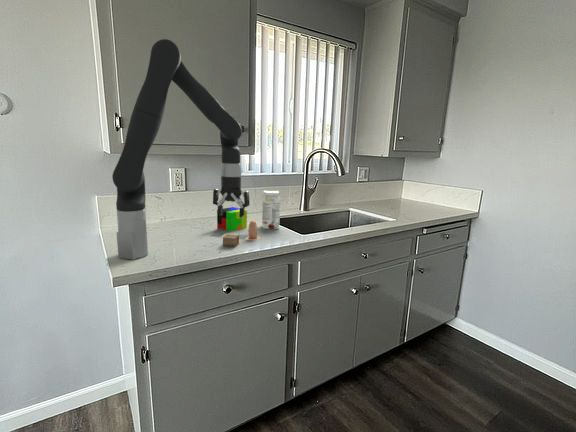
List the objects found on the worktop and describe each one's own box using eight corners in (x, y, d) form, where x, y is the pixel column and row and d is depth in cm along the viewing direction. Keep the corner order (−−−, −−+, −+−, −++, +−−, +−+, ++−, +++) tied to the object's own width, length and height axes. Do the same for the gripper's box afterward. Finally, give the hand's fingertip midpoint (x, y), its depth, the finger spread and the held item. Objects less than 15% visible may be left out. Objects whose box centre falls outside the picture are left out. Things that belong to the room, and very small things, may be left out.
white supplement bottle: (279, 231, 159) (280, 192, 155) (261, 231, 158) (262, 192, 154) (278, 227, 166) (279, 190, 162) (261, 227, 166) (262, 190, 161)
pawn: (255, 239, 140) (255, 222, 138) (247, 238, 141) (247, 221, 139) (258, 237, 143) (258, 220, 141) (250, 236, 144) (250, 219, 142)
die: (235, 250, 129) (234, 238, 128) (223, 249, 130) (222, 237, 129) (239, 246, 134) (239, 234, 133) (227, 245, 135) (227, 233, 134)
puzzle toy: (233, 226, 166) (233, 207, 163) (246, 230, 159) (246, 210, 157) (217, 229, 158) (217, 209, 156) (231, 234, 152) (231, 213, 150)
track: (256, 243, 138) (256, 240, 138) (208, 238, 143) (208, 235, 142) (261, 239, 145) (261, 236, 145) (215, 234, 149) (215, 231, 149)
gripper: (209, 174, 123) (210, 216, 127) (245, 177, 120) (245, 219, 124) (217, 173, 130) (218, 212, 134) (251, 175, 128) (251, 215, 131)
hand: (231, 216), depth 129 cm, fingers open, 8 cm apart
